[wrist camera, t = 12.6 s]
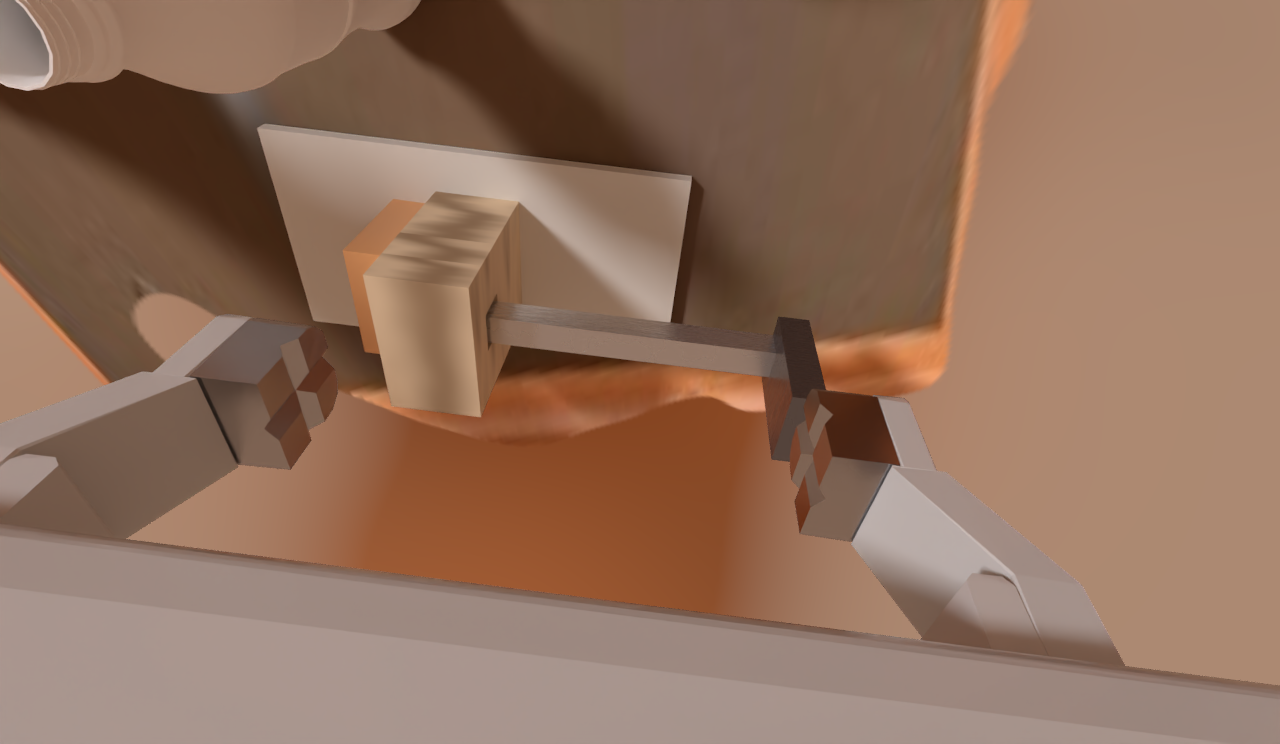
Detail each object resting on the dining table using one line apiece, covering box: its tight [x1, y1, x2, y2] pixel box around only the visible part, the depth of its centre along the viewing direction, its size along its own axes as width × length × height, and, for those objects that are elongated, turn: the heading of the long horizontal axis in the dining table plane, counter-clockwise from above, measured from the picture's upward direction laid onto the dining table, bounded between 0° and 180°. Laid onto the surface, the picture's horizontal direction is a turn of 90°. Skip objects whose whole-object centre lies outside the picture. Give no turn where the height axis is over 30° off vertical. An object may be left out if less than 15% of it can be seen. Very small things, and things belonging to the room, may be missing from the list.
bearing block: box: [363, 191, 522, 417], centre depth 42 cm, size 6×10×12 cm, turn 174°
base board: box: [257, 124, 692, 364], centre depth 47 cm, size 30×16×1 cm, turn 84°
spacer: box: [343, 199, 425, 354], centre depth 44 cm, size 3×8×8 cm, turn 173°
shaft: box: [486, 301, 826, 462], centre depth 38 cm, size 24×5×8 cm, turn 84°
